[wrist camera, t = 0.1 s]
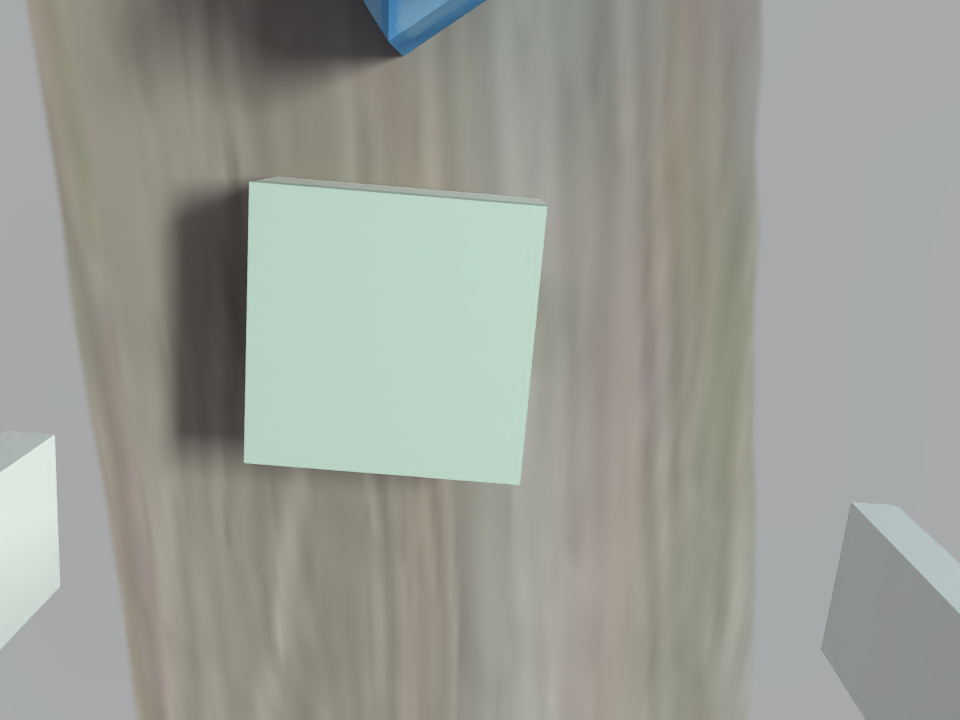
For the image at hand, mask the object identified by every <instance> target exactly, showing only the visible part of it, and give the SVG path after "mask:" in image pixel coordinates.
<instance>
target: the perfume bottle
mask: <svg viewBox="0 0 960 720" xmlns="http://www.w3.org/2000/svg"><path fill="white" fill-rule="evenodd" d="M363 1H364V3H365V5H366V6H367V8H368V9H369V11H370V13H371V14H372V16H373V17H374V19H375V21H376V22H377V24H378V25H379V27H380V29H381V30H382V32H383V33H384V35H385V37H386V38H387V40H388V41H389V42H390V43H391V44H392V45H393V46H394V47H395V48H396V49H397V50H398V51H399V52H400V53H401V54H402V55H403V56H404V55H406V54H407V53H409V52H410V51H412V50H413V49H415V48H416V47H418V46H419V45H421V44H422V43H424V42H425V41H427V40H428V39H430V38H431V37H432V36H434V35H435V34H437V33H438V32H440V31H441V30H443V29H444V28H446V27H447V26H449V25H450V24H452V23H453V22H455V21H456V20H458V19H459V18H461V17H462V16H463V15H465V14H466V13H468V12H469V11H471V10H472V9H474V8H475V7H477V6H478V5H480V4H481V3H483V2H484V1H486V0H363Z"/></svg>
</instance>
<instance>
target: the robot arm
mask: <svg viewBox="0 0 960 720" xmlns="http://www.w3.org/2000/svg"><path fill="white" fill-rule="evenodd" d="M57 515H58V514H57V485H56V457H55V435H54V434H44V433H32V432H19V431H6V432H5V433H3V434H1V435H0V649H1V648H2V647H3V646H4V645H5V644H6V643H7V642H8V641H9V640H10V639H11V638H12V637H13V636H14V635H15V633H16V632H17V631H18V630H19V629H20V628H21V627H22V626H23V625H24V624H25V623H26V622H27V621H28V620H29V619H30V618H31V617H32V616H33V615H34V613H35V612H36V611H37V610H38V609H39V608H40V607H41V606H42V605H43V604H44V603H45V602H46V601H47V600H48V599H49V598H50V596H52V594H53V593H54V592H55V591H56V590H57V589H58V588H59V587H60V572H59V543H58V516H57ZM821 650H822V651H823V653H824V655H825V657H826V658H827V659H828V661H829V663H830V664H831V666H832V668H833V669H834V671H835V672H836V674H837V675H838V677H839V679H840V680H841V682H842V683H843V685H844V686H845V688H846V690H847V691H848V692H849V694H850V696H851V697H852V699H853V701H854V702H855V704H856V705H857V707H858V708H859V710H860V712H861V713H862V715H863V716H864V718H865V720H960V563H959V562H958V561H957V560H955V559H954V558H953V557H952V556H951V555H950V554H949V553H948V552H947V551H946V550H944V548H942V547H941V546H940V545H939V544H938V543H937V542H936V541H935V540H934V539H933V538H932V537H931V536H929V535H928V534H927V533H926V532H925V531H924V530H923V529H922V528H921V527H920V526H919V525H917V524H916V523H915V522H914V521H913V520H912V519H911V518H910V517H909V516H908V515H907V514H906V513H905V512H904V511H902V510H901V509H900V508H899V507H898V506H895V505H883V504H871V503H858V502H851V506H850V510H849V515H848V520H847V525H846V530H845V535H844V540H843V545H842V550H841V555H840V559H839V564H838V569H837V574H836V579H835V584H834V590H833V594H832V599H831V604H830V608H829V614H828V619H827V623H826V628H825V634H824V638H823V643H822V648H821Z"/></svg>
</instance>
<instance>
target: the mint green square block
mask: <svg viewBox="0 0 960 720" xmlns="http://www.w3.org/2000/svg"><path fill="white" fill-rule="evenodd" d="M546 215H547V206H546V205H545V203H544V202H543V201H542V200H541V199H540V198H529V197H518V196H506V195H494V194H482V193H470V192H458V191H446V190H434V189H422V188H410V187H398V186H386V185H374V184H362V183H350V182H338V181H326V180H314V179H302V178H290V177H278V176H277V177H272V178H267V179H261V180H256V181H250V182H249V217H248V270H247V323H246V376H245V429H244V463H250V464H263V465H276V466H288V467H301V468H313V469H326V470H338V471H351V472H363V473H376V474H389V475H401V476H414V477H426V478H439V479H451V480H464V481H476V482H489V483H501V484H514V485H520V478H521V468H522V458H523V448H524V438H525V427H526V417H527V407H528V397H529V387H530V377H531V367H532V357H533V346H534V336H535V326H536V316H537V306H538V296H539V286H540V276H541V266H542V255H543V245H544V235H545V225H546Z"/></svg>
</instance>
